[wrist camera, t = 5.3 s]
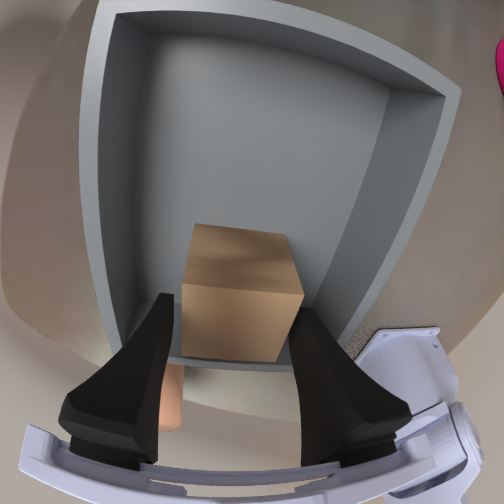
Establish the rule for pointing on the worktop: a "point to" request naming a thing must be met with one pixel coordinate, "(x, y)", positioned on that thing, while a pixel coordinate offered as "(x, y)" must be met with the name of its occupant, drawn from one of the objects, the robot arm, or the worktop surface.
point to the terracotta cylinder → (171, 398)
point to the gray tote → (251, 152)
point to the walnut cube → (238, 294)
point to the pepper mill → (500, 63)
